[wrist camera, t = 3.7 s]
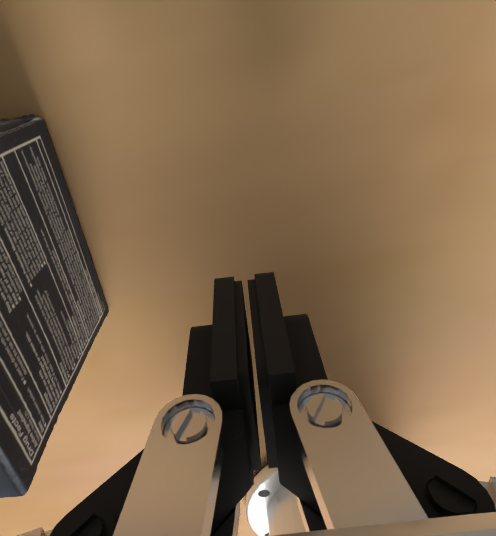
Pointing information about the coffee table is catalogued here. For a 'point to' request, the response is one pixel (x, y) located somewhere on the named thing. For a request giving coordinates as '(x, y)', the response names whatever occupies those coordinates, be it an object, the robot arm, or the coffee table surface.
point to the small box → (38, 298)
